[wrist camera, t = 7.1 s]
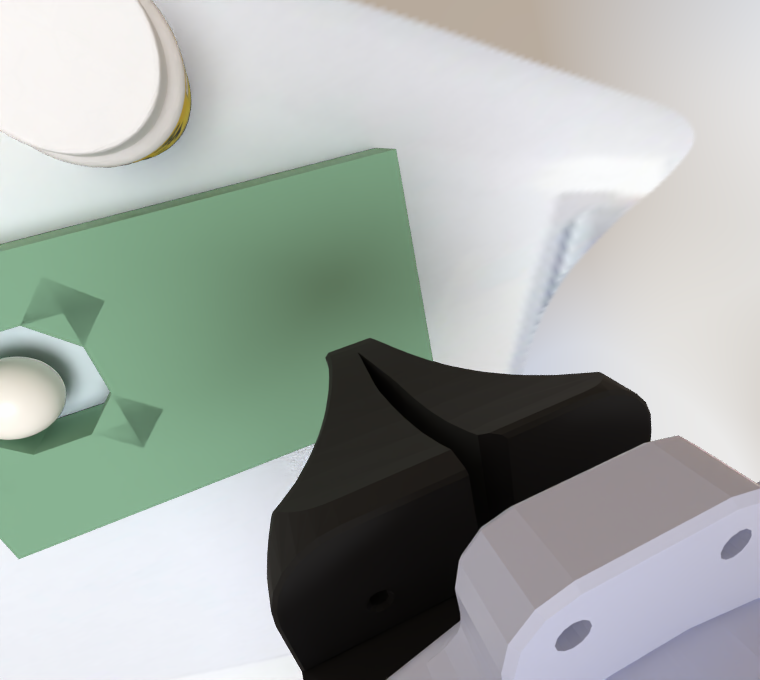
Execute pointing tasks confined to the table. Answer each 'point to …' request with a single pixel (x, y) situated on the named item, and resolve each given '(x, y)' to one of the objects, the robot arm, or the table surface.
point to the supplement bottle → (91, 80)
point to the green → (203, 335)
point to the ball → (28, 397)
